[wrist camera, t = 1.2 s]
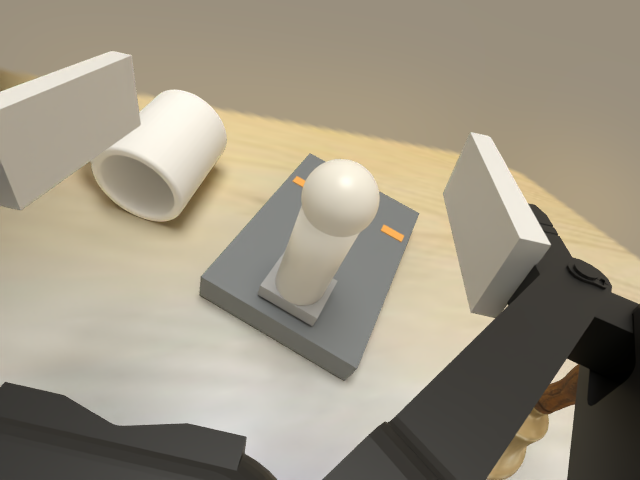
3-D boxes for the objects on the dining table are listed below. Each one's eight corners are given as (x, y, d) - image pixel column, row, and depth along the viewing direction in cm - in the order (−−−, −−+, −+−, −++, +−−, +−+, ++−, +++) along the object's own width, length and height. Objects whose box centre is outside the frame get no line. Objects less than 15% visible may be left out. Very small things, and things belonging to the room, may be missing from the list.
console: (199, 295, 31) (200, 275, 29) (303, 172, 44) (310, 152, 42) (344, 380, 30) (357, 368, 28) (407, 230, 44) (419, 212, 41)
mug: (224, 170, 41) (231, 107, 35) (181, 234, 35) (181, 171, 29) (119, 129, 40) (108, 58, 34) (55, 187, 34) (28, 112, 28)
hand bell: (524, 499, 29) (768, 475, 17) (428, 451, 29) (602, 393, 17) (523, 398, 34) (706, 325, 22) (442, 358, 35) (581, 264, 22)
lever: (255, 297, 29) (295, 169, 19) (283, 257, 32) (330, 129, 22) (310, 329, 29) (381, 217, 19) (333, 286, 32) (405, 170, 22)
